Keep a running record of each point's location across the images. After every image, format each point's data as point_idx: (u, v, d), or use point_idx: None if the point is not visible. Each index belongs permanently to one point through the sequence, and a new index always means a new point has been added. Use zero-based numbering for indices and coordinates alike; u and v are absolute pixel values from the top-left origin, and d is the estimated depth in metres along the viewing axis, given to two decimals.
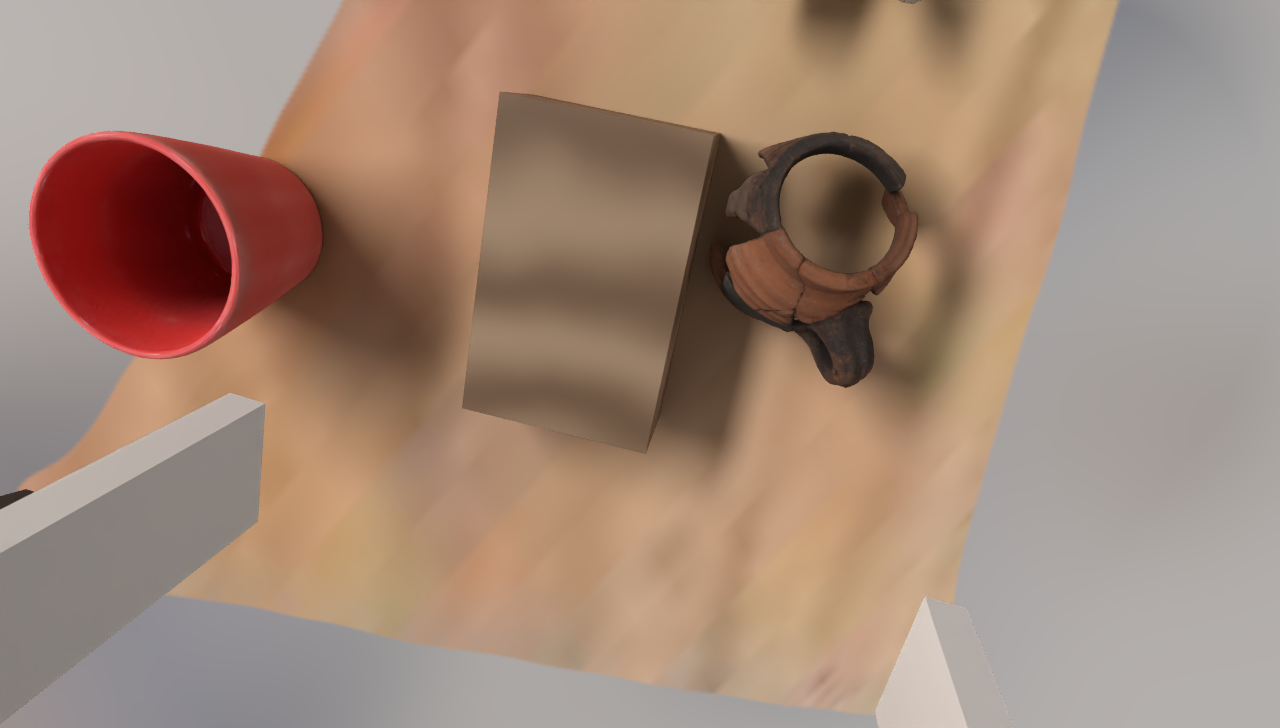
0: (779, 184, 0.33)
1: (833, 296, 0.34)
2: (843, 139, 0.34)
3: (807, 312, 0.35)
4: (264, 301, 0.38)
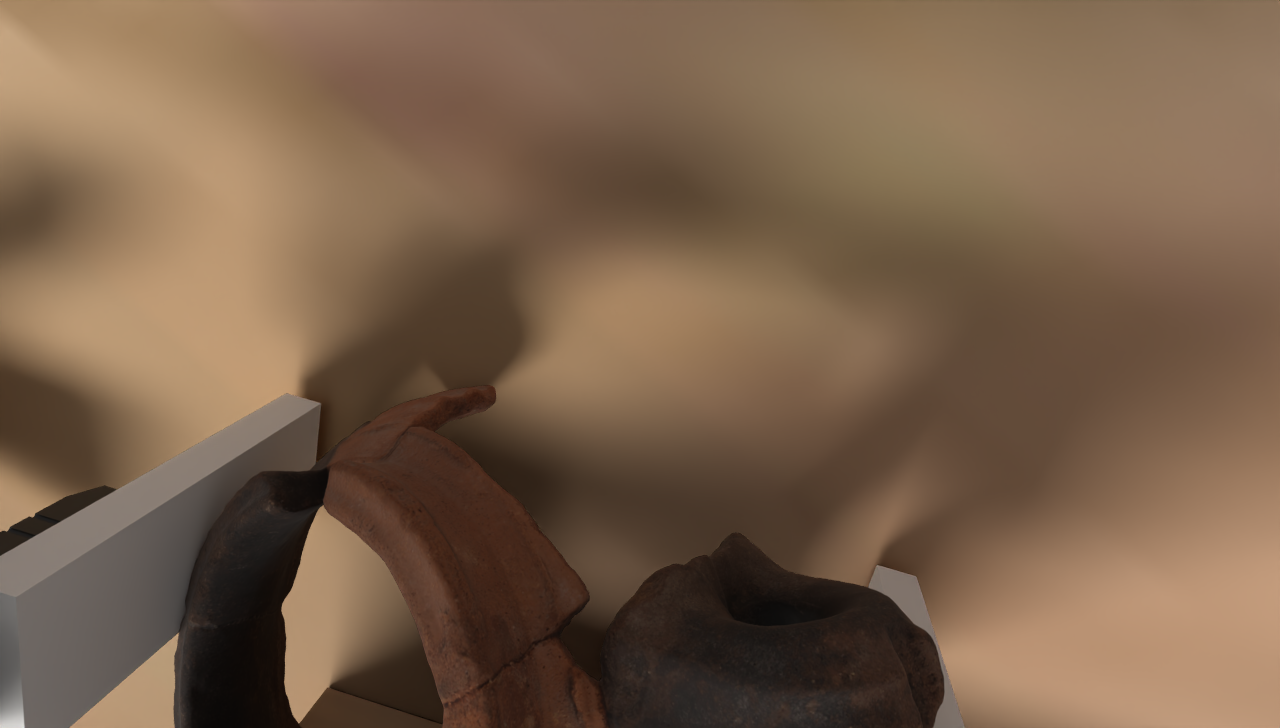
0: None
1: None
2: (183, 638, 0.12)
3: None
4: None
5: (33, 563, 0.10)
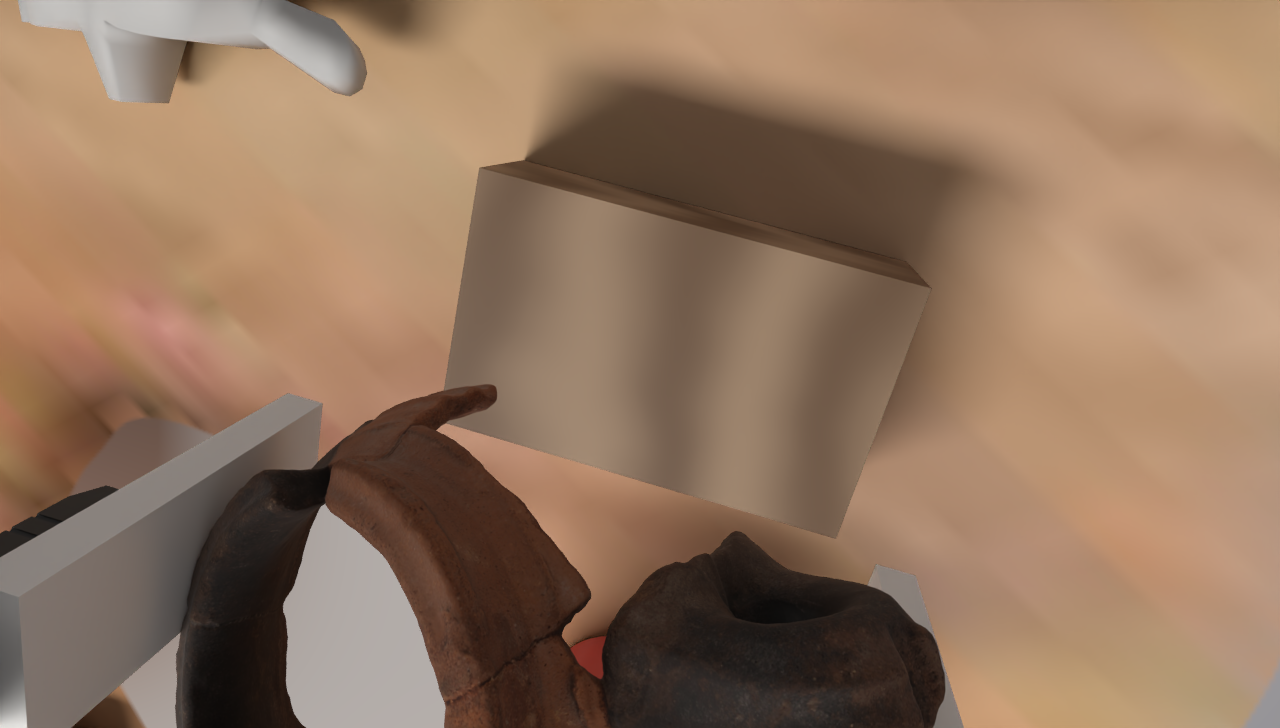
0: None
1: None
2: (185, 637, 0.12)
3: None
4: None
5: (35, 563, 0.10)
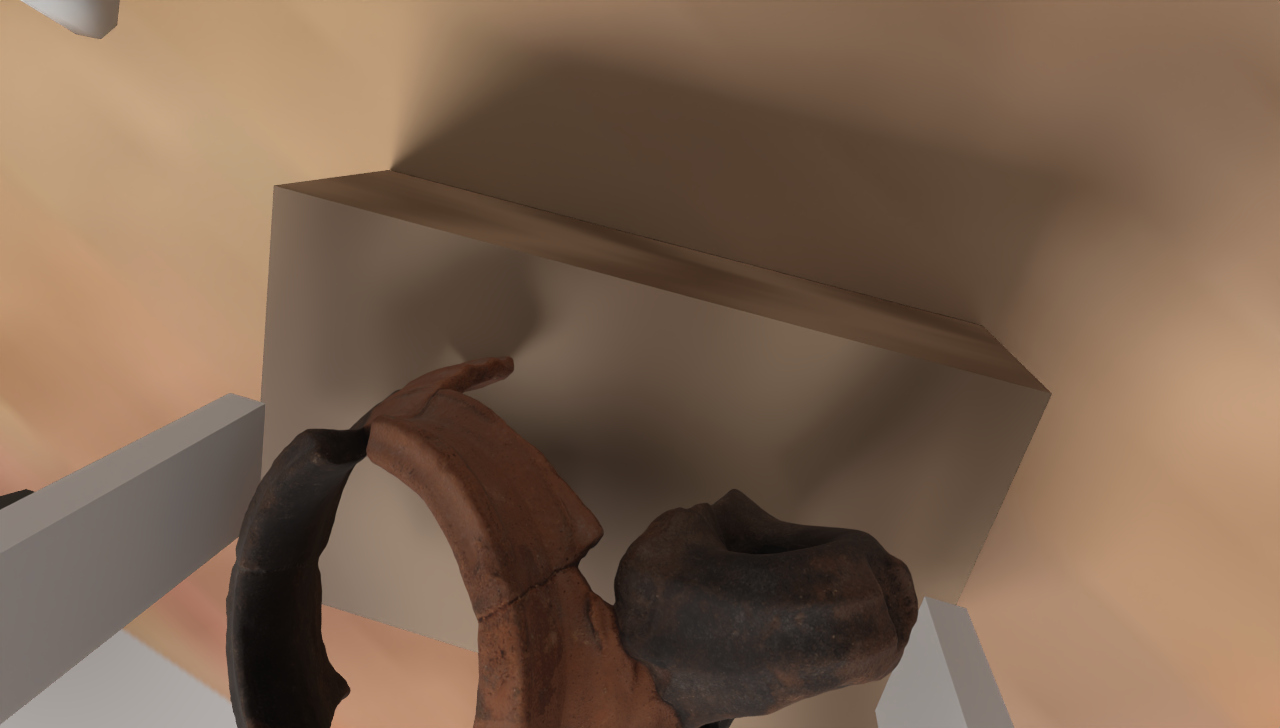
0: None
1: (575, 706, 0.11)
2: (234, 582, 0.13)
3: None
4: None
5: None
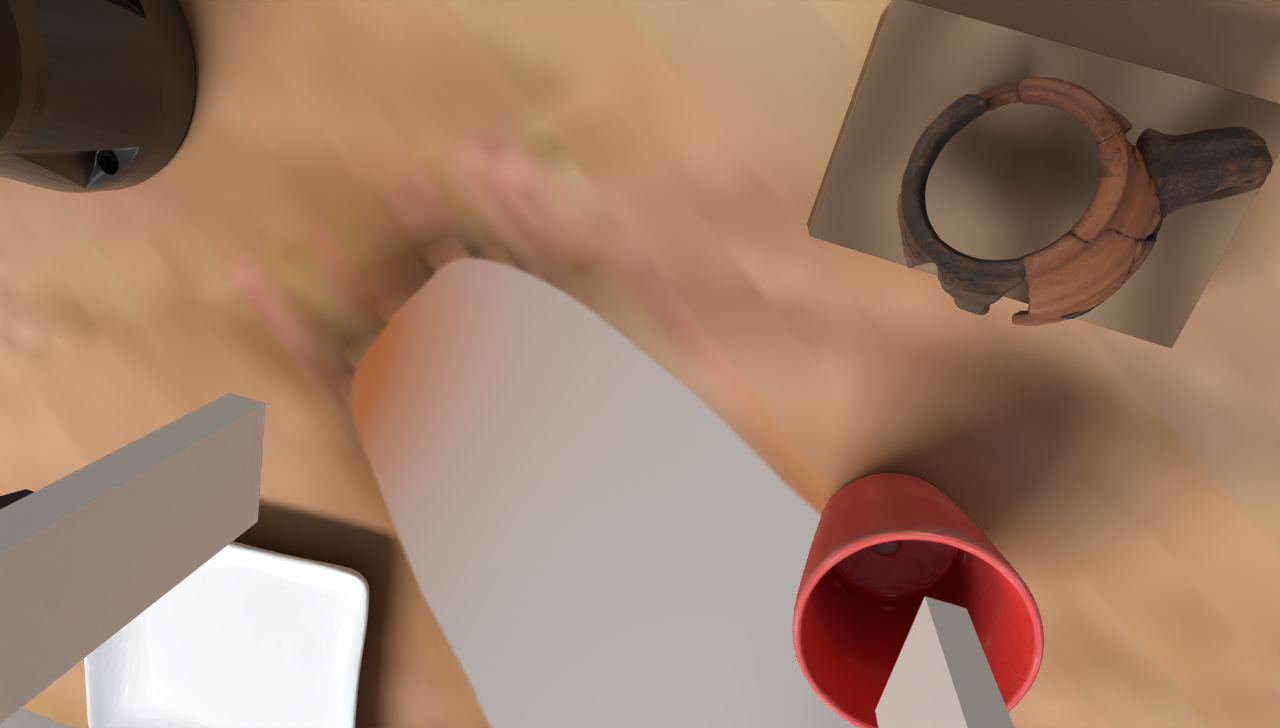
0: (962, 258, 0.27)
1: (1128, 189, 0.25)
2: (912, 173, 0.28)
3: (1146, 223, 0.26)
4: (987, 538, 0.35)
5: None
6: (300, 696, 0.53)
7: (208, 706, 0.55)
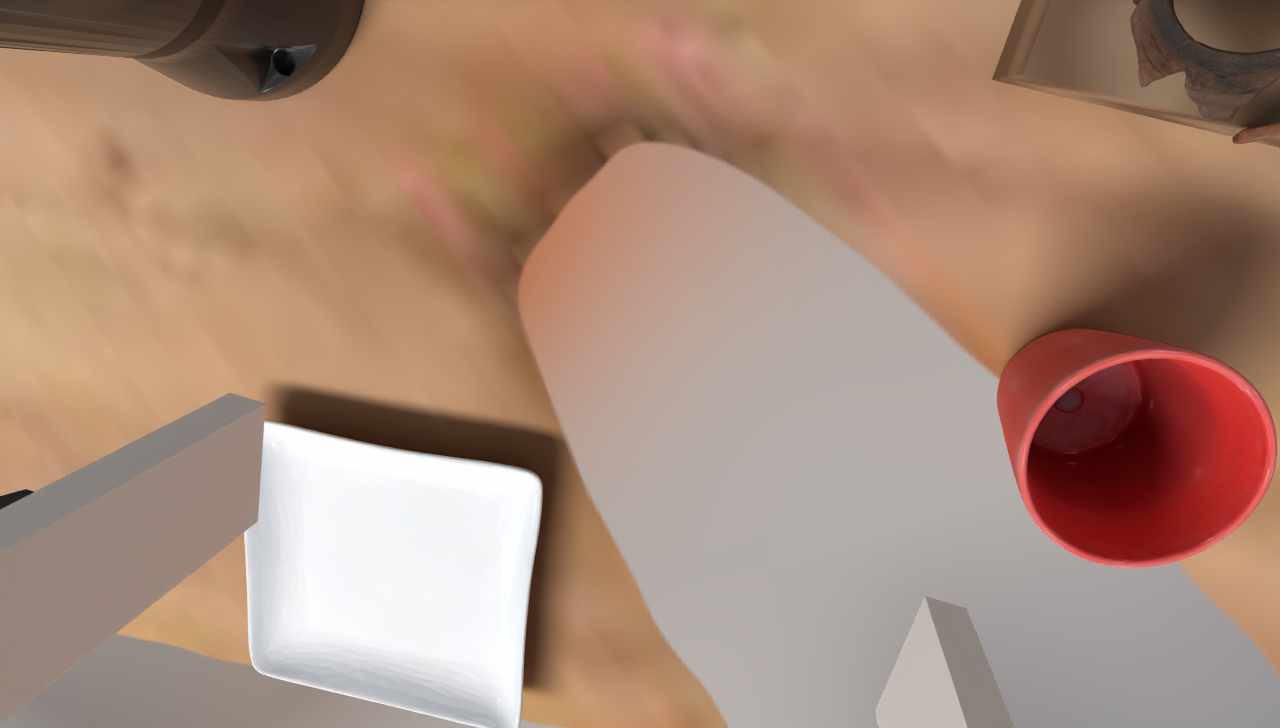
0: (1226, 53, 0.28)
1: None
2: None
3: None
4: None
5: None
6: (462, 607, 0.54)
7: (366, 625, 0.56)
